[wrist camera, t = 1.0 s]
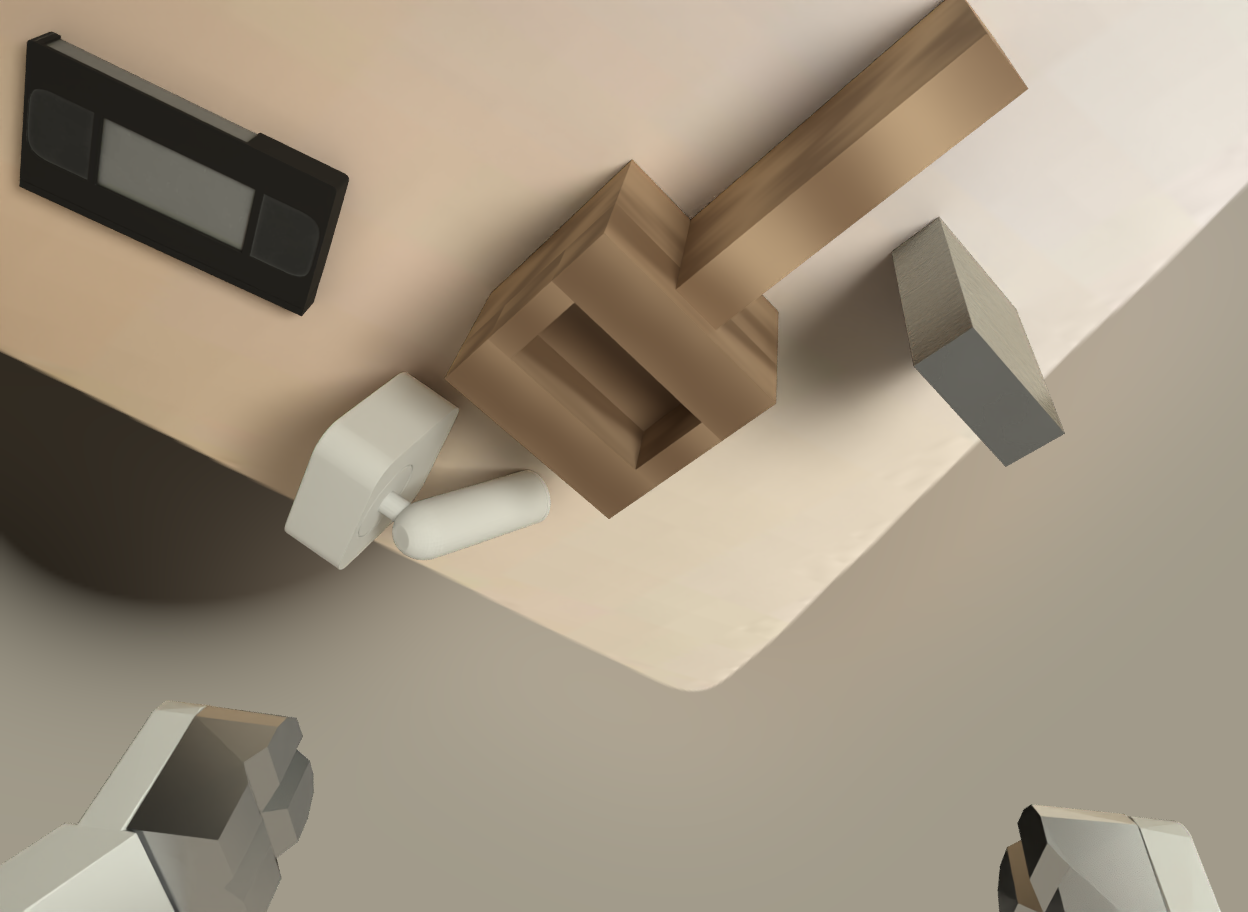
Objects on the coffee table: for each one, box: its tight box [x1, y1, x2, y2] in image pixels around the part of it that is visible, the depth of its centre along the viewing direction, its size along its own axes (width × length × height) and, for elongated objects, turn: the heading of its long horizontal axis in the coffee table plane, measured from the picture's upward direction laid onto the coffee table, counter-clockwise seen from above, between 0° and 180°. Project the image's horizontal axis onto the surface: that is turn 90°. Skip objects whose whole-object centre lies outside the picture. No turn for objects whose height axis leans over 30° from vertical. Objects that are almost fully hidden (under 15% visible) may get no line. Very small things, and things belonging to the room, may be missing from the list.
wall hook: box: [285, 372, 550, 570], centre depth 51 cm, size 8×10×10 cm
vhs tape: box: [19, 32, 349, 316], centre depth 46 cm, size 8×14×2 cm, turn 65°
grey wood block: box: [892, 217, 1065, 467], centre depth 40 cm, size 2×6×10 cm, turn 45°
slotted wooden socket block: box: [444, 0, 1028, 519], centre depth 40 cm, size 24×10×8 cm, turn 135°
